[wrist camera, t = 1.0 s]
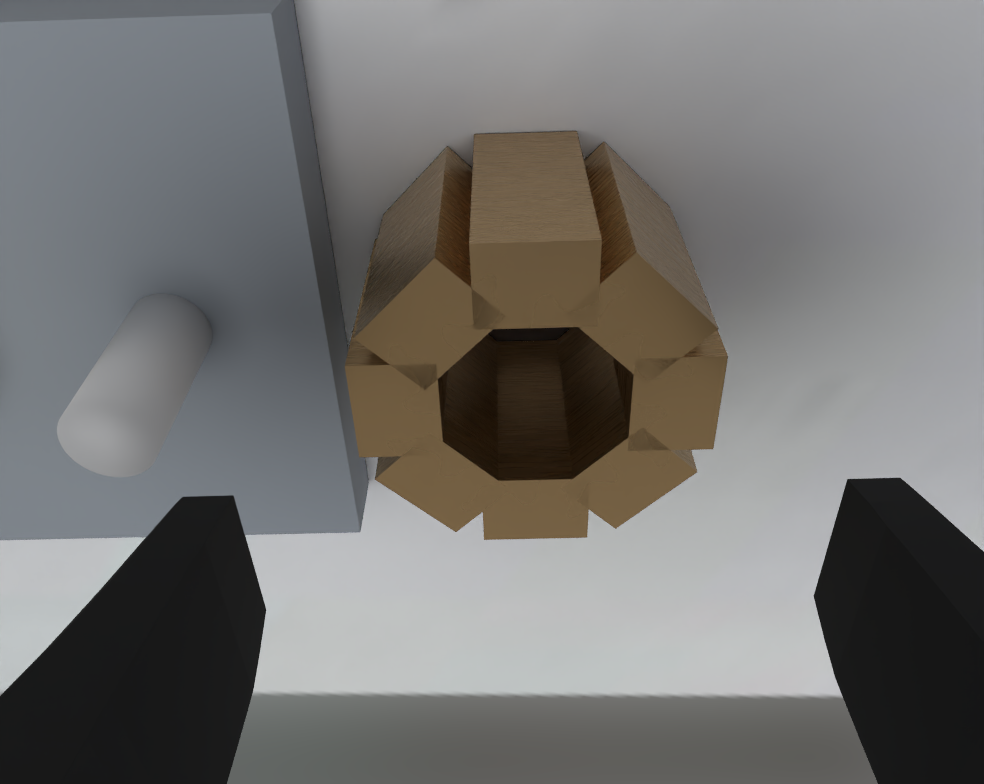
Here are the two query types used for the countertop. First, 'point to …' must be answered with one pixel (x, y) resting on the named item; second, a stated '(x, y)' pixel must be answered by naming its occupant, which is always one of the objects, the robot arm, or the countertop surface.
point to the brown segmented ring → (533, 342)
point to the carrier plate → (166, 274)
